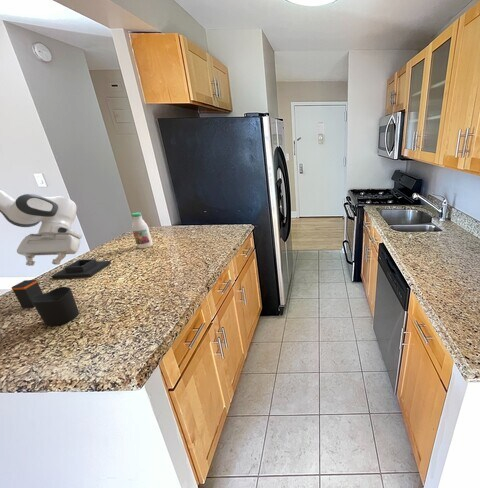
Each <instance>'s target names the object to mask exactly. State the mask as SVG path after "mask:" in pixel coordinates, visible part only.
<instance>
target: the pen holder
mask: <svg viewBox="0 0 480 488" xmlns="http://www.w3.org/2000/svg"><path fill="white" fill-rule="evenodd" d="M31 301H32V303H33V304H34V306H35V307H34V308H35V309H36V311H37V313H38V314H39V316H40V318H41V320H42V322H43V324H45V325H46V326H49V327H57V326H61V325H64V324H67V323H69V322H71V321H73V320H74V319H76V318H77V317H78V316H79V314H80V311H79V307H78V305H77V302H76V299H75V296H74V293H73V291H72V289H71V287H69V286H59V287H56V288H54V289H51V290H50V291H48V292H45V293H43V294H40V295H36V296H34V297H33V298H32V299H31Z"/></svg>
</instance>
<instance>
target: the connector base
mask: <svg viewBox="0 0 480 488" xmlns="http://www.w3.org/2000/svg"><path fill="white" fill-rule="evenodd" d="M111 264H112V262H111V260H99V261H98V260H97V259H96V258H85V259H84V258H83V259H77V260H76V261H74V262H72V263H70V264H68V265H67V266H65V267H64V268H63V269H60V270H59V271H57V272H55V273H53V274H52V275H51V278H52V279H54V280H55V279H73V278H76V279H77V278H91V277H93V276H94V275H96V274H97V273H99V272H101V271H102V270H103V269H105V268H106V267H108V266H110V265H111Z"/></svg>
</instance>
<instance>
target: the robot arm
mask: <svg viewBox="0 0 480 488" xmlns="http://www.w3.org/2000/svg"><path fill="white" fill-rule="evenodd" d="M77 210H78V207H77V204H76V202H75V201H73V200H72V199H71V198H68V197H66V196H63V195H56V196H42V195H38V194H35V193H24V194H22V195H20V196H18V197H17V198H16V199H15V198H13V197H12V196H10V195H9V194H8V193H6V192H5V191H3V190H2V189H0V214H1V215H2V216H3V217H4V219H6V221H7V222H8V223H10V224H11V225H13V226H16V227H20V228H31V227H35V226H37V225H39V224H40V223H41V224H40V226H39V229H38V231H37V233H30V234H28V235H25V237H24V238H23V239H22V240H21V241H20V243H19V245H18V247H17V249H16V253H17V254H18V255H21V256H24V257H25V259H26V262H25V265H26V266H29V267H32V266H35V263H36V261H35V260H34V258H35V257H37V256H56V258H52V261H51V264H52V265H56V266H57V265H60V264H61V262H62V261H63V260H64V259H65V258H66V257H67V255H75V254H76V253H77V252H79V250H80V245H81V239H82V236H83V235H82V234H81V233H79V232H77V231H76V230H74V229H72V224H73V223H74V221H75V218H76V215H77Z"/></svg>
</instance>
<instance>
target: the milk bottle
mask: <svg viewBox="0 0 480 488" xmlns="http://www.w3.org/2000/svg"><path fill="white" fill-rule="evenodd" d="M130 215H131V218H132V224H131V230H132V234H133V237H134V241H135V245H136V247H137V249H147V248H148V249H149V248H150V247H152V246H153V245H154V243H153V240H152V236H151V232H150V229H149V226H148V224H147V222H146V221H145V220H144V219H143V215H142V212H132V213H131V214H130Z"/></svg>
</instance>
